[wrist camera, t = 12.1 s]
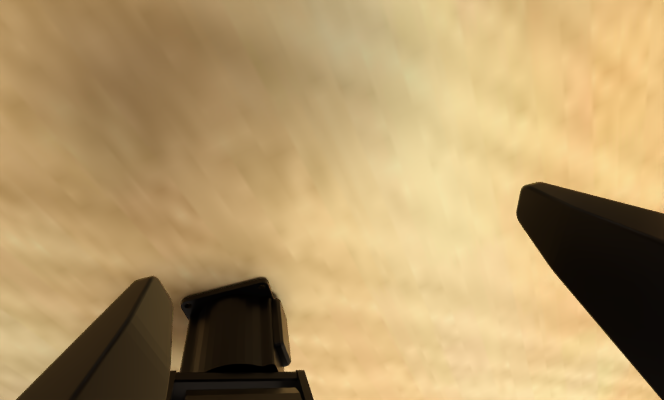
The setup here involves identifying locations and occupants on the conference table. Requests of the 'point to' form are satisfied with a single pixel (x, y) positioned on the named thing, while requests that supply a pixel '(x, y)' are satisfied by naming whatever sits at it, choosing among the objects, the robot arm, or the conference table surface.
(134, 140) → the conference table surface
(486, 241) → the conference table surface
